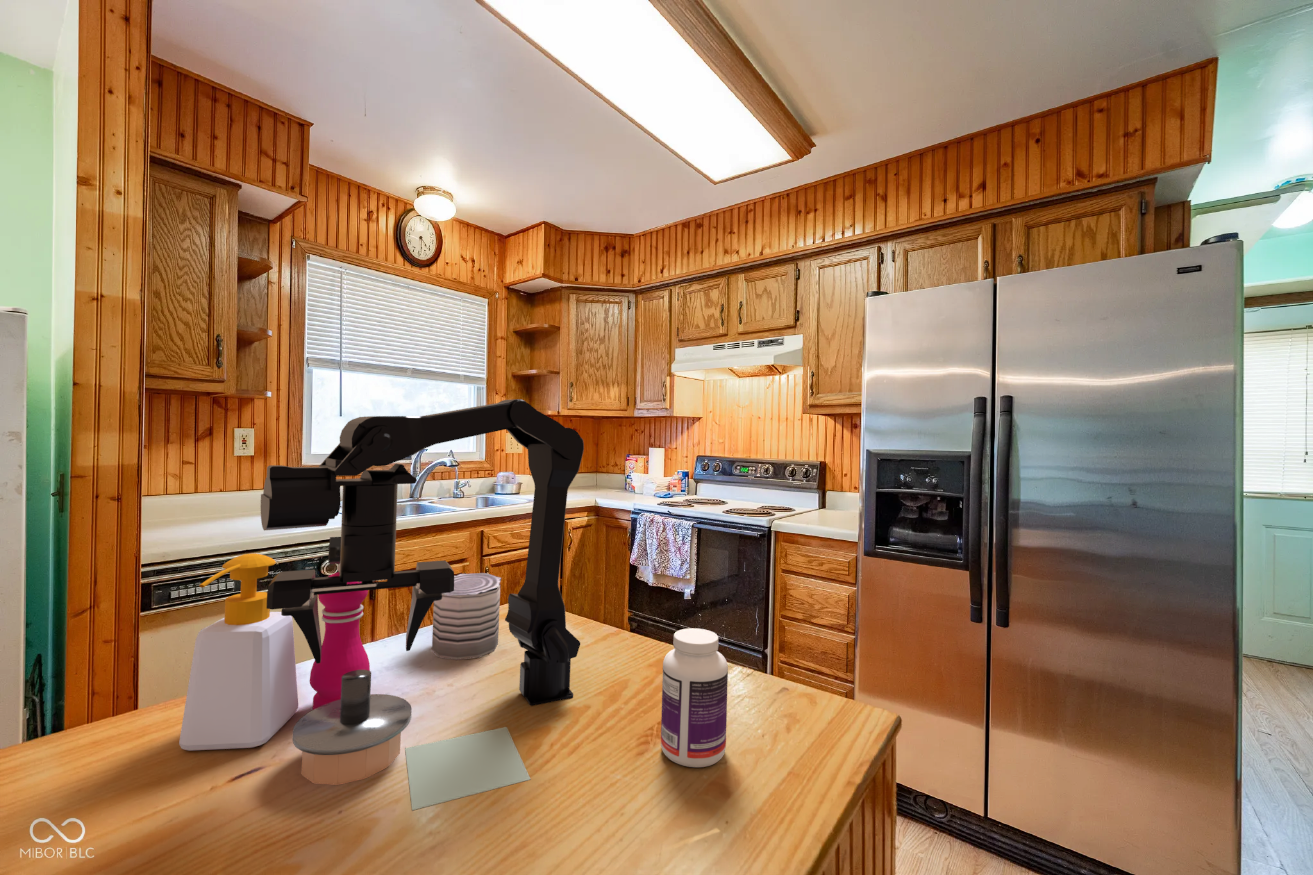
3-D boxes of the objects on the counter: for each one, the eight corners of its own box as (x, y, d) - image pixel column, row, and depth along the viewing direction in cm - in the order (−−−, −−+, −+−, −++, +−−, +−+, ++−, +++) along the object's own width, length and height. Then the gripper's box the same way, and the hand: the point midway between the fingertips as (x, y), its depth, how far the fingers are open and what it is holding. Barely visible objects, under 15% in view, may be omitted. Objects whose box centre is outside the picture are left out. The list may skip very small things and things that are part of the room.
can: (512, 645, 99) (514, 579, 99) (460, 665, 90) (463, 593, 90) (469, 631, 105) (472, 569, 105) (417, 649, 96) (420, 581, 96)
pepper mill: (341, 721, 71) (347, 568, 71) (295, 714, 72) (300, 564, 73) (380, 696, 78) (385, 557, 78) (336, 690, 80) (342, 553, 80)
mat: (506, 729, 71) (506, 726, 71) (530, 781, 60) (530, 778, 60) (405, 750, 65) (405, 748, 65) (412, 812, 54) (412, 809, 54)
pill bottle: (731, 742, 69) (735, 630, 70) (717, 778, 62) (722, 652, 62) (671, 729, 72) (675, 620, 72) (650, 762, 65) (655, 641, 65)
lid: (408, 693, 71) (410, 649, 71) (414, 739, 60) (416, 687, 60) (299, 711, 65) (301, 663, 66) (285, 766, 55) (287, 708, 55)
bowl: (397, 729, 70) (398, 698, 70) (401, 772, 61) (402, 736, 61) (307, 747, 65) (308, 713, 65) (297, 796, 56) (299, 757, 56)
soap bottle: (142, 779, 58) (151, 571, 58) (224, 714, 72) (231, 546, 72) (241, 774, 60) (249, 571, 60) (302, 711, 73) (309, 546, 73)
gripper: (445, 511, 75) (441, 623, 75) (283, 516, 67) (278, 643, 66) (457, 523, 65) (452, 653, 65) (268, 531, 57) (263, 680, 57)
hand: (364, 655), depth 64 cm, fingers open, 9 cm apart
